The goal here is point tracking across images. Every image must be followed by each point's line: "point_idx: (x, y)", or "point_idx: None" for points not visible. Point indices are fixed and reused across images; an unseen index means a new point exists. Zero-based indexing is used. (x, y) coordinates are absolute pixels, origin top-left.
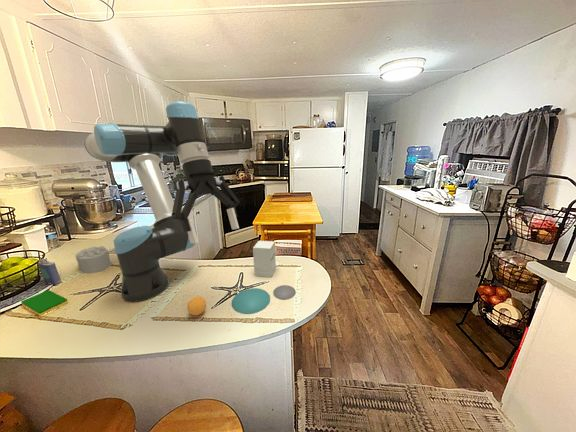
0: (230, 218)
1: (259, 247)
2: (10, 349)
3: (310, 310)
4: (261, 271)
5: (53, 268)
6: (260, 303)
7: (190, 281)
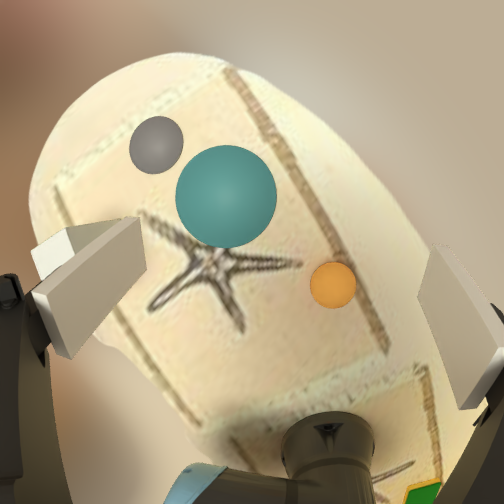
0: (106, 296)
1: None
2: None
3: (181, 60)
4: None
5: None
6: (222, 164)
7: (256, 396)
